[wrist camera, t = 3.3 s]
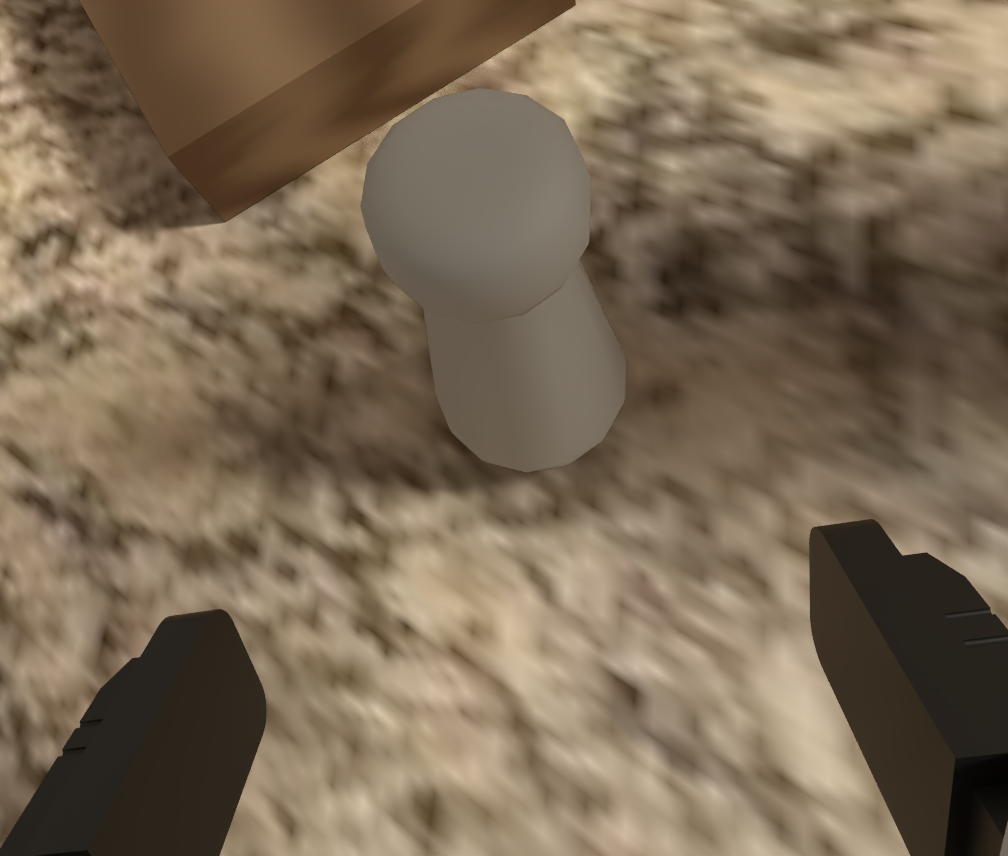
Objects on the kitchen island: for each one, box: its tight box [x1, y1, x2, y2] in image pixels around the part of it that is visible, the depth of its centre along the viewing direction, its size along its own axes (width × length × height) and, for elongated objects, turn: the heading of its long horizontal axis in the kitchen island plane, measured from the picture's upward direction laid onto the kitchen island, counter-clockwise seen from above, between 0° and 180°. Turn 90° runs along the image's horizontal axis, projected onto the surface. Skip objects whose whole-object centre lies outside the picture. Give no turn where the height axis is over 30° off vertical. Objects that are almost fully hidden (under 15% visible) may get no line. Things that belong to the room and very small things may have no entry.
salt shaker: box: [361, 88, 626, 473], centre depth 20 cm, size 6×6×13 cm
